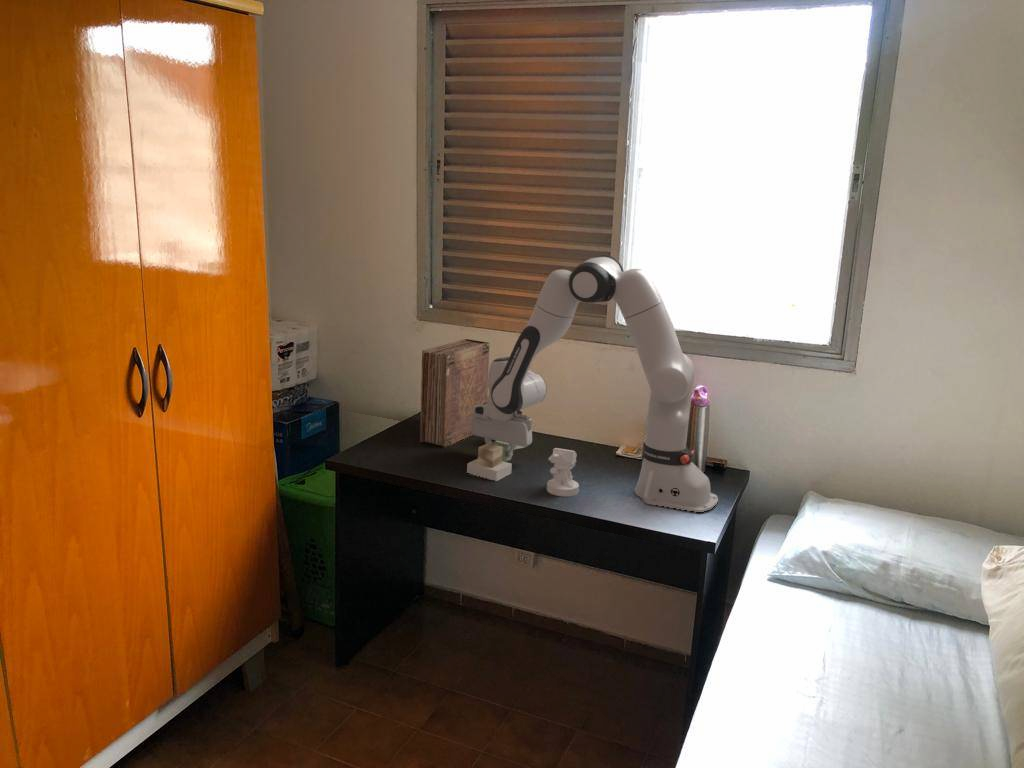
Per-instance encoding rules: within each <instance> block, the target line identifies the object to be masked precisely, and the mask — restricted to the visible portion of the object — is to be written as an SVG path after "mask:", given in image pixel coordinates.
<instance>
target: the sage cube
mask: <svg viewBox="0 0 1024 768" xmlns="http://www.w3.org/2000/svg"><path fill="white" fill-rule="evenodd" d="M491 444H494V445H498V446H502V447H503V451H502V461H504V462H508V461H510V460H512V457H506V451H508V450H509V449H510V447H509V443H505V442H501V441H496V440H494V441H493V442H491Z"/></svg>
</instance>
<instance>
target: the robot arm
mask: <svg viewBox="0 0 1024 768" xmlns="http://www.w3.org/2000/svg"><path fill="white" fill-rule="evenodd" d="M659 292H660V291H658V289H657V287H656V285H655V284H654V282H653V280H652V278H651V277H650V276H649V275H648V273H647V272H646V271H645V270H643V269H641V268H630V269H627V270H625V271H624V268H623V265H622V264H621V262H620V261H619V260H618V259H617V258H615V257H613V256H610V255H599V256H596V257H591V258H589V259H586V260H585V261H583V262H581V263H580V264H578V265H577V266H576V267H574V269H572V271H570V270H568V269H555V270H553V271H551V273H549V275H548V277H547V278H546V279H545V282H544V284H543V286H542V287H541V290H540V292H539V294H538V297H537V299H536V303H535V305H534V307H533V310H532V313H531V315H530V317H529V319H528V322H527V323H526V325H525V326H524V328H523V330H522V332H520V335H519V336H518V339H517V340H516V342H515V344H514V345H513V346H514V347H513V349H512V351H511V353H510V355H509V356H505V357H499V358H495V359H493V360H492V361H491V363H490V366H489V369H488V395H487V402H485V403H481V404H478V405H476V406H474V407H473V413H474V414H473V415H472V417H471V422H470V432H471V433H472V435H473V436H476V437H481V438H484V442H485V444H487V443H490V444H491V443H492V441H496V440H497V441H501V442H505V443H509V447H510V449H509V450H508V451H506V457H511V458H512V457H513V455H514V449H515V447H516V446H517V445H518V446H522V447H525V448H526V447H529V446H530V445H531V444H532V443H533V430H532V429H533V428H532V427H533V421H532V419H531V418H530V417H529V416H528V415H526V414H522V415H521V414H517V411H518V410H520V411H521V410H523V409H526V408H529V407H532V406H535V405H537V404H539V403H541V402H542V401H544V399H545V398H546V395H547V391H548V390H547V389H548V388H547V384H546V383H547V382H546V381H545V378H544V377H543V376H542V375H541V374H539V373H537V372H533V371H532V370H530V367H531V365H532V363H533V361H534V360H535V358H536V356H537V355H538V354H539V353H540V352H542V351H543V350H544V349H545V348H547V347H548V346H550V345H552V344H553V343H555V342H557V341H559V340H560V339H562V338H564V336H565V335H566V333H567V332H568V331H569V329H570V327H571V325H572V324H573V323H572V322H573V319H574V318H575V317H574V316H575V313H576V311H577V309H578V306H579V303H580V302H582V303H587V304H594V303H604V302H605V303H606V302H610V301H611V300H612V301H614V302H615V303H616V304H617V306H618V308H619V310H620V313H621V315H622V317H623V319H624V322H625V323H626V326H627V329H628V331H629V333H630V336H631V338H632V340H633V342H634V345H635V348H636V350H637V354H638V358H639V360H640V364H641V366H642V370H643V371H644V375H645V378H646V380H647V383H648V386H649V388H650V395H649V403H648V409H647V416H646V427H645V439H644V441H643V445H642V449H641V467H640V468H641V469H640V472H639V477H638V480H637V483H636V485H635V488H634V493H635V495H637V496H638V497H639V498H641V499H642V500H643V502H644V503H645V504H646V505H650V504H651V505H652V506H656V505H658V506H657V507H662V506H664V507H663V508H667V507H669V508H668V509H673V508H676V509H675V510H679V509H681V510H680V511H684V510H687V511H686V512H690V511H694V512H693V513H696V512H703V511H707V510H709V509H711V508H713V507H714V506H715V505H716V504H717V502H718V503H719V497H718V496H717V495H716V494H715V493H713V492H711V491H712V490H711V482H710V479H709V477H708V476H707V475H706V474H705V473H704V472H703V471H702V470H701V469H700V468H698V466H697V465H696V464H695V463H694V462H693V461H692V459H693V456H694V455H695V454H694V453H695V450H694V449H693V450H690V449H689V448H688V446H687V441H688V440H687V439H688V431H689V429H688V428H689V421H690V415H691V414H690V413H691V405H692V396H693V388H694V387H693V386H694V378H695V367H694V363H693V362H692V360H691V358H690V357H689V356H688V355H686V354H685V353H683V351H682V348H681V344H680V342H679V339H678V336H677V335H678V334H677V333H676V329H675V326H674V324H673V321H672V320H671V318H670V315H669V313H668V310H667V307H666V306H665V303H664V301H663V299H662V297H661V295H660V293H659ZM515 450H516V449H515ZM717 505H718V504H717ZM717 505H716V506H717ZM716 506H715V507H716ZM715 507H714V508H715ZM714 508H713V509H714Z"/></svg>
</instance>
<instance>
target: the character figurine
mask: <svg viewBox="0 0 1024 768" xmlns="http://www.w3.org/2000/svg"><path fill="white" fill-rule="evenodd" d="M577 456H578V455H577V452H576V451H575V450H571V449H565V448H559V447H555V448H552V454H551V455H550V456H549V457H548V459H547V460H548V461H550V463H551V464H554V465H553V467H551V468H550V469H549V473H550V475H552V479H549V480H547V483H546V491H547V493H549V494H551V495H554V496H557V497H574V496H576V495H578V494H579V491H580V484H579V483H578V482H577V481H576V480H573V477H574V476H573V475H572V472H571V470H572V469H573V468H575V467H576V463H577Z"/></svg>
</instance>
